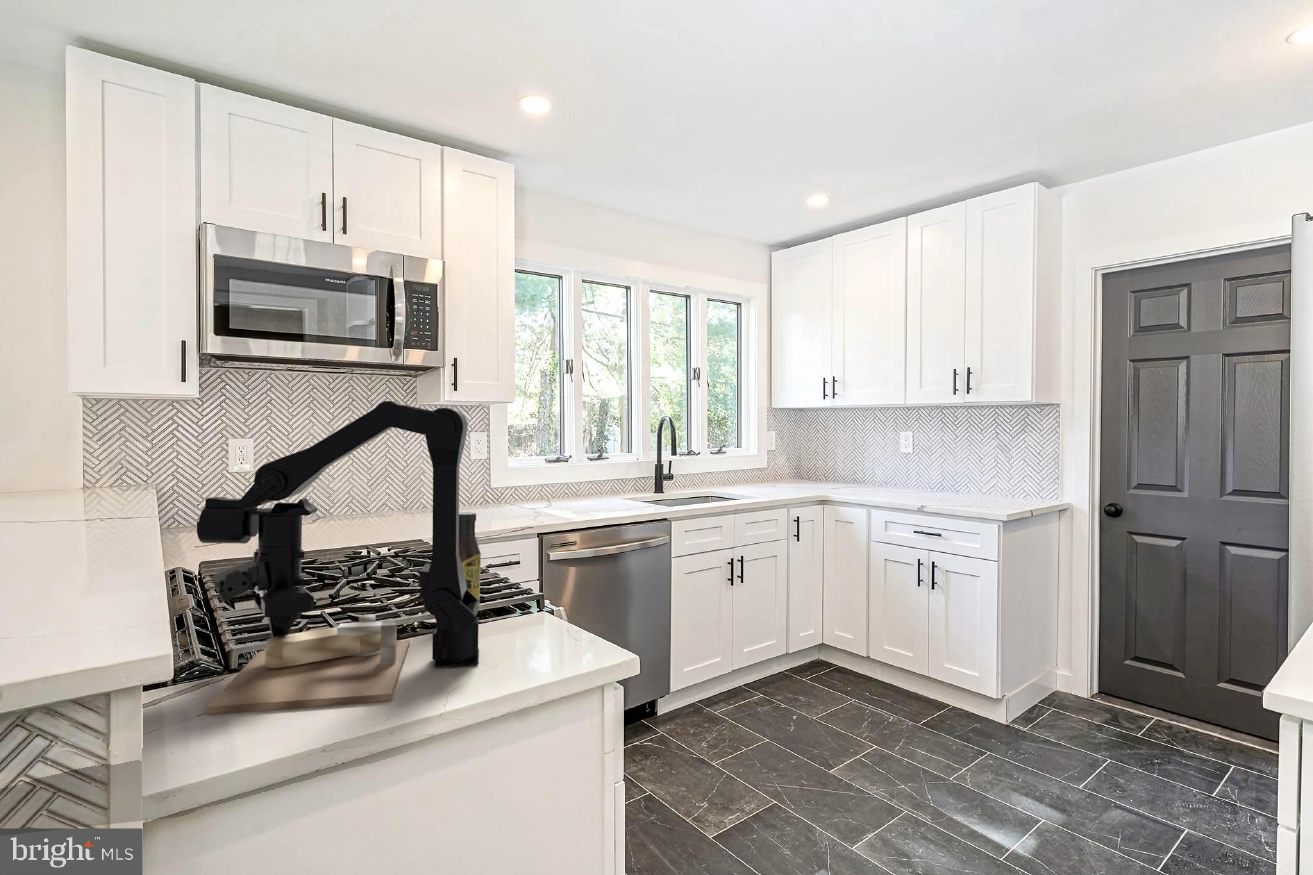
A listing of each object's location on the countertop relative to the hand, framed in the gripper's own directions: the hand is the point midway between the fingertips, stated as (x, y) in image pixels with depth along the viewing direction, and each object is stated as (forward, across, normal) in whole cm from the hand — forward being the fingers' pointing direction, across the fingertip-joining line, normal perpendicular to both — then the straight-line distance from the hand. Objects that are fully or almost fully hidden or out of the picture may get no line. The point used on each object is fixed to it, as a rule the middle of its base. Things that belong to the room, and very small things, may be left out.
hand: (278, 645), depth 101 cm
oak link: (+2, +3, +6) cm, 7 cm away
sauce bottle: (+3, -9, +33) cm, 34 cm away
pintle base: (+3, +8, +4) cm, 9 cm away
